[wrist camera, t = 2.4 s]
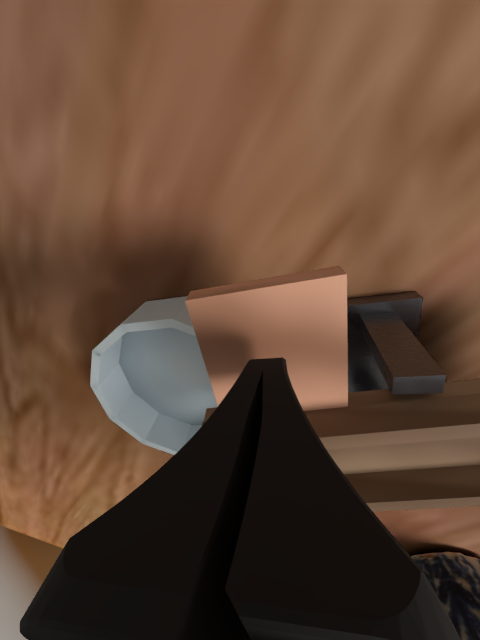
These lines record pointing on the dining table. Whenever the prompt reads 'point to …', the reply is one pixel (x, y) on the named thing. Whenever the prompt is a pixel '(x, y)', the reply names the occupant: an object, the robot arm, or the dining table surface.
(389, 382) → the stand
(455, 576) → the jug
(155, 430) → the bowl
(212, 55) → the dining table surface
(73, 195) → the dining table surface
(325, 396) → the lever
